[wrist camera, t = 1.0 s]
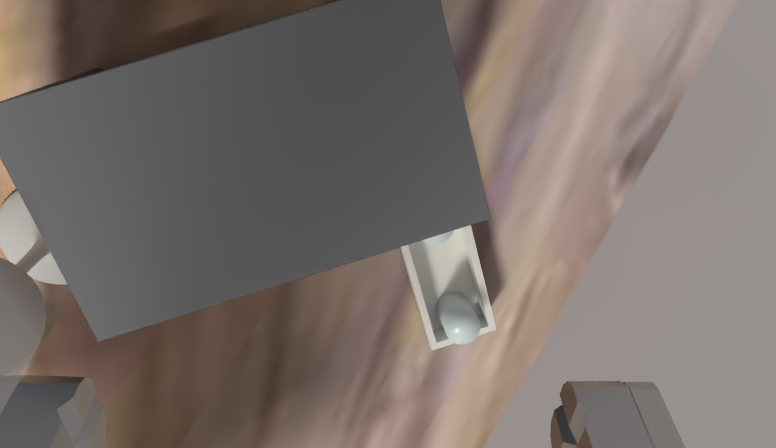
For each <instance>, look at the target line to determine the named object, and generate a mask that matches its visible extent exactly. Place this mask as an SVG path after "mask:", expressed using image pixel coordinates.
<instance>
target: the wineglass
mask: <svg viewBox="0 0 776 448" xmlns="http://www.w3.org/2000/svg"><path fill="white" fill-rule="evenodd" d="M0 248H1V250H2V251H3V253H4V255H5V256H6V258H7V259H8V260H9V261H10V262H9V261H7V260H5V259H2V258H0V375H20V374H21V373H22V371H23V370H24V369H25V367H26V366H27V364H28V363H29V361H30V360H31V358H32V357H33V355H34V353H35V352H36V350H37V348H38V346H39V344H40V342H41V339H42V336H43V333H44V329H45V324H46V309H45V303H44V300H43V297H42V294H41V292H40V290H39V288H38V286H37V285H36V283H35V282H34V281H33V279H36V280H38V281H42V282H45V283H50V284H67V283H66V281H65V279H64V277H63V275H62V273H61V271H60V269H59V267H58V266H57V264H56V262H55V260H54V258H53V256H52V254H51V252H50V250H49V249H48V247H47V245H46V243H45V241H44V239H43V237H42V235H41V234H40V232H39V230H38V228H37V226H36V224H35V222H34V220H33V218H32V217H31V215H30V213H29V211H28V209H27V207H26V205H25V203H24V202H23V200H22V198H21V196H20V194H19V192H18V190H17V191H16V192H14V193H13V194H12V195H10V196H9V197H8V198H7V199H6V201H5V202H4V203H3V205H2V206H1V208H0ZM32 278H33V279H32Z"/></svg>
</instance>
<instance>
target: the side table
mask: <svg viewBox="0 0 776 448" xmlns="http://www.w3.org/2000/svg"><path fill="white" fill-rule="evenodd" d="M0 158H1V160H2V162H3V164H4V166H5V168H6V170H7V171H8V173H9V175H10V177H11V179H12V181H13V183H14V185H15V186H16V188H17V190H18V192H19V194H20V196H21V198H22V200H23V202H24V203H25V205H26V207H27V209H28V211H29V213H30V215H31V217H32V218H33V220H34V222H35V224H36V226H37V228H38V230H39V232H40V234H41V235H42V237H43V239H44V241H45V243H46V245H47V247H48V249H49V250H50V252H51V254H52V256H53V258H54V260H55V262H56V264H57V266H58V267H59V269H60V271H61V273H62V275H63V277H64V279H65V281H66V283H67V284H68V286H69V288H70V290H71V292H72V294H73V296H74V298H75V299H76V301H77V303H78V305H79V307H80V309H81V311H82V313H83V315H84V316H85V318H86V320H87V322H88V324H89V326H90V328H91V330H92V331H93V333H94V335H95V337H96V339H97V341H98V342H99V341H103V340H106V339H109V338H112V337H115V336H119V335H122V334H125V333H128V332H131V331H134V330H138V329H141V328H144V327H147V326H150V325H154V324H157V323H160V322H163V321H166V320H170V319H173V318H176V317H179V316H182V315H185V314H189V313H192V312H195V311H198V310H201V309H205V308H208V307H211V306H214V305H217V304H221V303H224V302H227V301H230V300H233V299H237V298H240V297H243V296H246V295H249V294H252V293H256V292H259V291H262V290H265V289H268V288H272V287H275V286H278V285H281V284H284V283H288V282H291V281H294V280H297V279H300V278H303V277H307V276H310V275H313V274H316V273H319V272H323V271H326V270H329V269H332V268H335V267H339V266H342V265H345V264H348V263H351V262H354V261H358V260H361V259H364V258H367V257H370V256H374V255H377V254H380V253H383V252H386V251H390V250H393V249H396V248H399V247H402V246H405V245H409V244H412V243H415V242H418V241H421V240H425V239H428V238H431V237H434V236H437V235H441V234H444V233H447V232H450V231H453V230H456V229H460V228H463V227H466V226H469V225H472V224H476V223H479V222H482V221H485V220H488V219H491V218H490V214H489V209H488V205H487V201H486V196H485V192H484V188H483V183H482V179H481V175H480V170H479V166H478V162H477V157H476V153H475V149H474V144H473V140H472V136H471V131H470V127H469V123H468V118H467V114H466V110H465V105H464V101H463V97H462V92H461V88H460V84H459V79H458V75H457V71H456V66H455V62H454V58H453V53H452V49H451V45H450V40H449V36H448V32H447V27H446V23H445V19H444V14H443V10H442V6H441V1H440V0H336V1H333V2H329V3H326V4H323V5H319V6H316V7H313V8H309V9H306V10H303V11H299V12H296V13H293V14H289V15H286V16H283V17H279V18H276V19H273V20H269V21H266V22H263V23H259V24H256V25H253V26H249V27H246V28H243V29H239V30H236V31H233V32H229V33H226V34H223V35H219V36H216V37H213V38H209V39H206V40H203V41H199V42H196V43H193V44H189V45H186V46H183V47H179V48H176V49H173V50H169V51H166V52H163V53H159V54H156V55H153V56H149V57H146V58H143V59H139V60H136V61H133V62H129V63H126V64H123V65H119V66H116V67H113V68H109V69H106V70H103V71H101V70H100V68H97V69H93V70H90V71H87V72H83V73H80V74H77V75H74V76H72V77H69V78H66V79H63V80H60V81H57V82H55V83H52V84H49V85H46V86H43V87H40V88H38V89H35V90H32V91H29V92H26V93H24V94H21V95H18V96H15V97H12V98H9V99H7V100H4V101H1V102H0Z"/></svg>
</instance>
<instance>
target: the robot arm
mask: <svg viewBox="0 0 776 448" xmlns="http://www.w3.org/2000/svg"><path fill="white" fill-rule="evenodd" d="M96 392H97V388H96V386H95V383H94V381H93V379H92V378H91V377H62V376H32V375H0V448H104V447H105V443H106V437H107V430H108V423H107V414H106V411H105V409H104V406H103V405H101V404H100V403H98V402H97V401H95V400H94V397H95V394H96ZM560 397H561V401H562V405H561V406H559V407H558V408H556V409H555V410H554V413H553V417H552V420H551V435H550V437H551V445H552V448H685V446H684V444H683V442H682V440H681V438H680V435H679V433H678V431H677V429H676V427H675V424H674V422H673V420H672V418H671V416H670V413H669V411H668V409H667V407H666V405H665V403H664V400H663V398H662V396H661V394H660V392H659V389H658V387H656V385H655V384H654V383H653V382H621V381H567V382H566V383H565V384H564V385H563V387H562V389H561V392H560Z"/></svg>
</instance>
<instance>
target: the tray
mask: <svg viewBox="0 0 776 448" xmlns="http://www.w3.org/2000/svg"><path fill="white" fill-rule="evenodd" d="M400 250H401V254H402V257H403V260H404V264H405V267H406V271H407V274H408V277H409V281H410V284H411V287H412V291H413V294H414V298H415V301H416V304H417V308H418V311H419V315H420V318H421V321H422V325H423V328H424V331H425V334H426V337H427V340H428V342H429V345H430V348H431V350H435V349H438V348H441V347H444V346H447V345H450V344H454V343H456V344H466V343H469V342H471V341H473V340H474V339H475V338H476V337H477V336H479V335H482V334H485V333H488V332H491V331H494V330H496V326H495V322H494V318H493V314H492V310H491V306H490V302H489V298H488V293H487V289H486V285H485V281H484V277H483V273H482V269H481V265H480V261H479V257H478V253H477V249H476V244H475V240H474V236H473V232H472V228H471V225H469V226H466V227H463V228H460V229H456V230H453V231H450V232H447V233H444V234H441V235H437V236H434V237H431V238H428V239H425V240H421V241H418V242H415V243H412V244H409V245H405V246H402V247H400Z"/></svg>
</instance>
